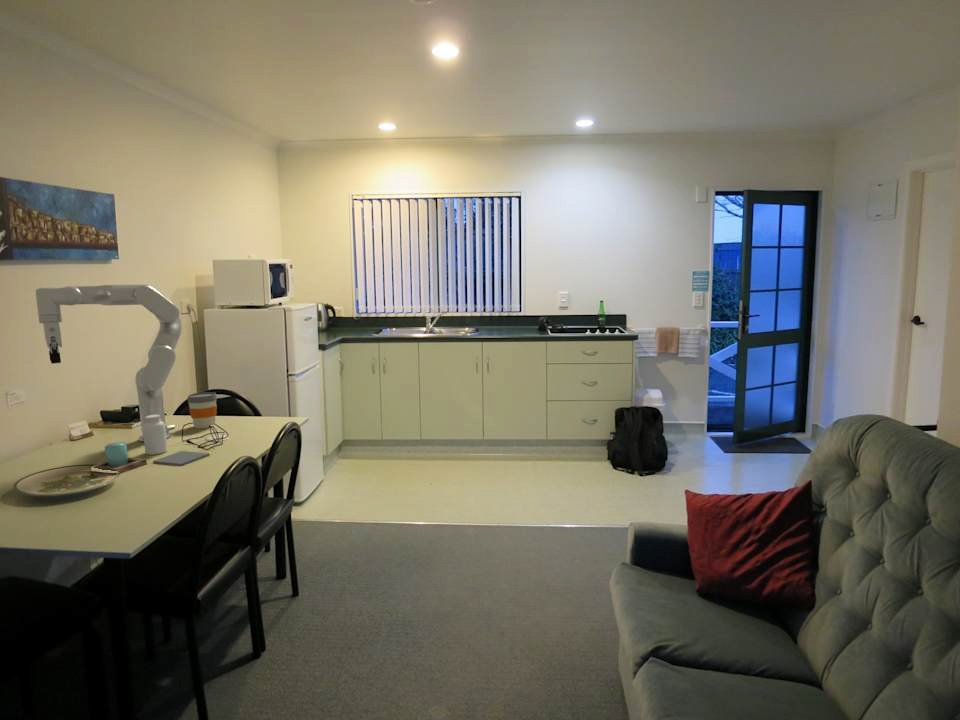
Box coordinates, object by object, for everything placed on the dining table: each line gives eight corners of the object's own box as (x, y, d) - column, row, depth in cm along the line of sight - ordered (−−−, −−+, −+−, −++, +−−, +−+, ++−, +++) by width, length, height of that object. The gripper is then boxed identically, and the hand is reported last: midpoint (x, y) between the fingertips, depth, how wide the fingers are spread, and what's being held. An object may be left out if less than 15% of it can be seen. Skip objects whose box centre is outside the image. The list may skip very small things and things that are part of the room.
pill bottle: (145, 456, 254) (141, 419, 252) (145, 451, 261) (141, 415, 259) (167, 453, 257) (164, 416, 255) (167, 448, 264) (163, 412, 262)
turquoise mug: (132, 465, 241) (130, 442, 240) (117, 471, 235) (115, 447, 234) (115, 464, 244) (113, 440, 243) (100, 469, 238) (98, 445, 237)
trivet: (181, 452, 257) (181, 450, 257) (209, 455, 252) (209, 453, 252) (153, 463, 244) (152, 460, 244) (181, 465, 239) (181, 463, 239)
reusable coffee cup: (206, 430, 294) (204, 397, 292) (184, 428, 298) (180, 396, 296) (224, 423, 306) (222, 392, 304) (202, 422, 310) (199, 391, 307)
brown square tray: (121, 461, 248) (120, 456, 247) (146, 463, 243) (146, 459, 243) (90, 471, 236) (89, 466, 235) (116, 474, 231) (116, 469, 231)
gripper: (62, 319, 250) (67, 363, 253) (60, 317, 264) (65, 358, 267) (39, 320, 246) (44, 365, 248) (38, 318, 260) (43, 360, 262)
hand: (55, 361), depth 257 cm, fingers open, 9 cm apart
